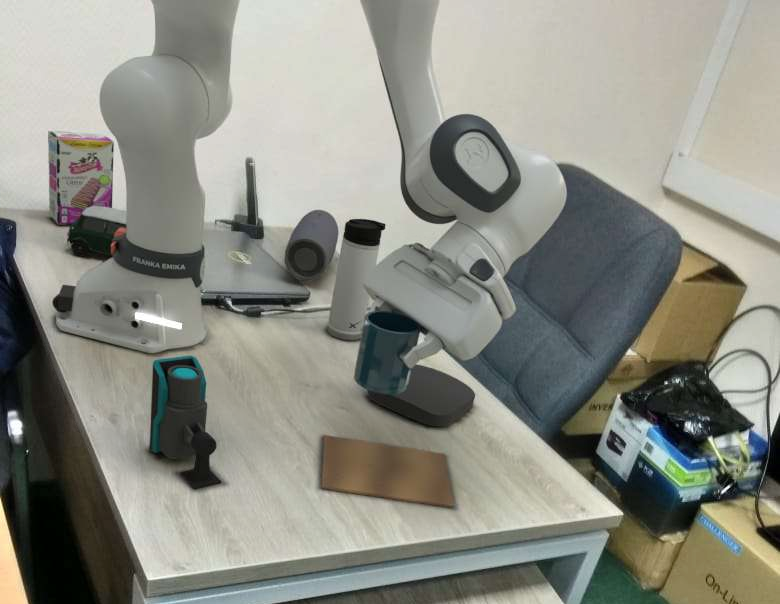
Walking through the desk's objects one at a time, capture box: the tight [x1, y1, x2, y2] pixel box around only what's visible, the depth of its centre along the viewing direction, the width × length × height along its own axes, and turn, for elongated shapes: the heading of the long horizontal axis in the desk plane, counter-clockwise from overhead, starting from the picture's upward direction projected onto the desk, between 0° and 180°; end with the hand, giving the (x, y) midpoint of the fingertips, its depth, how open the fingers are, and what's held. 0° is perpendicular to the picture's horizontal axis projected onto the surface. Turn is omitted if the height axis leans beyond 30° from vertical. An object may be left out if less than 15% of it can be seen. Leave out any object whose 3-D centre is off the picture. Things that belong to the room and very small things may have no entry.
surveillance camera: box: [149, 355, 222, 490], centre depth 95 cm, size 6×12×10 cm
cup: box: [353, 311, 421, 394], centre depth 99 cm, size 7×7×8 cm
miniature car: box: [66, 206, 126, 257], centre depth 149 cm, size 9×18×8 cm, turn 89°
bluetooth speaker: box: [284, 209, 339, 282], centre depth 165 cm, size 23×9×10 cm, turn 178°
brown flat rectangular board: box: [321, 434, 454, 509], centre depth 107 cm, size 17×13×1 cm
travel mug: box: [326, 218, 386, 341], centre depth 138 cm, size 6×7×20 cm
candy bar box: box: [47, 130, 115, 226], centre depth 158 cm, size 11×5×16 cm, turn 130°
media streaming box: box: [367, 364, 476, 427], centre depth 126 cm, size 15×15×3 cm
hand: (383, 348), depth 98 cm, fingers closed on cup, 7 cm apart
